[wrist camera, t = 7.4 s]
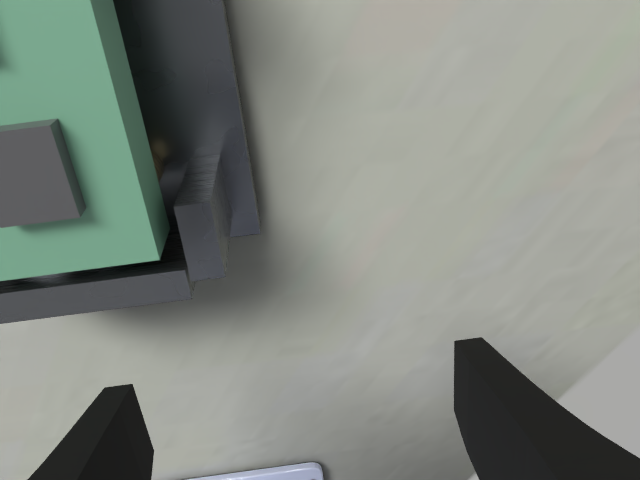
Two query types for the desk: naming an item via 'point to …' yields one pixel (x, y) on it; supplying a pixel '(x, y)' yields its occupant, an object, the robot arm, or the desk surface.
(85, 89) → the board
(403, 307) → the desk surface
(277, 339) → the desk surface
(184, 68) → the chassis
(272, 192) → the desk surface
